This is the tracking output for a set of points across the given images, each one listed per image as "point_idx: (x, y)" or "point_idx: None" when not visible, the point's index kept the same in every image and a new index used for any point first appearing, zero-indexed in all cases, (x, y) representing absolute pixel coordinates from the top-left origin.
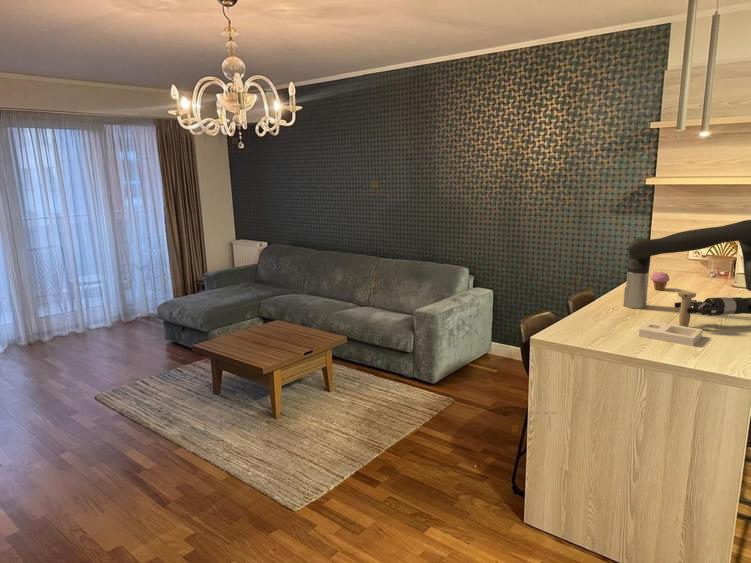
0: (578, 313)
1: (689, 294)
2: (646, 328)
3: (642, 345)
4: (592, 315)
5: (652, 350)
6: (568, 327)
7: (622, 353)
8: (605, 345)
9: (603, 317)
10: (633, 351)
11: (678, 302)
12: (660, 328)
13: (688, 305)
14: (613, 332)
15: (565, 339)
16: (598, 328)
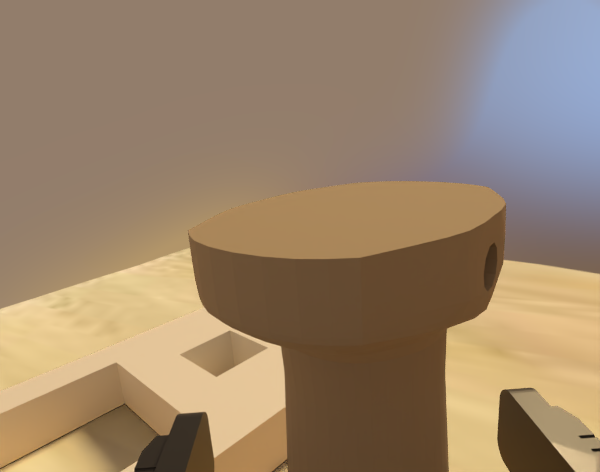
0: (555, 267)
1: (227, 215)
2: (204, 322)
3: (106, 326)
4: (544, 287)
5: (40, 334)
6: None
7: (84, 286)
8: (165, 274)
9: (524, 305)
10: (77, 302)
11: (562, 420)
12: (176, 362)
13: (288, 439)
14: None
15: None
16: None
